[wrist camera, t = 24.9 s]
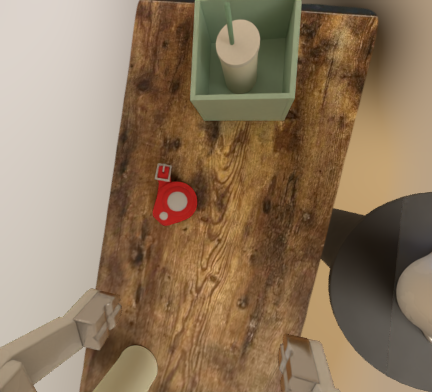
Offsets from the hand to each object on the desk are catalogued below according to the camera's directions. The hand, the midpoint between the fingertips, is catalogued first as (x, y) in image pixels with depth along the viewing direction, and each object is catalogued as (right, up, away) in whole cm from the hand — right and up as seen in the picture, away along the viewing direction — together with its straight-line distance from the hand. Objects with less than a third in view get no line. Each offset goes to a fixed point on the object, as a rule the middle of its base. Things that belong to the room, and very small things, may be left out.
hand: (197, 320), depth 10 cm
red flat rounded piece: (-7, +6, +33) cm, 34 cm away
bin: (+7, +29, +29) cm, 42 cm away
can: (-16, -32, +36) cm, 51 cm away
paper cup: (+6, +29, +29) cm, 41 cm away
